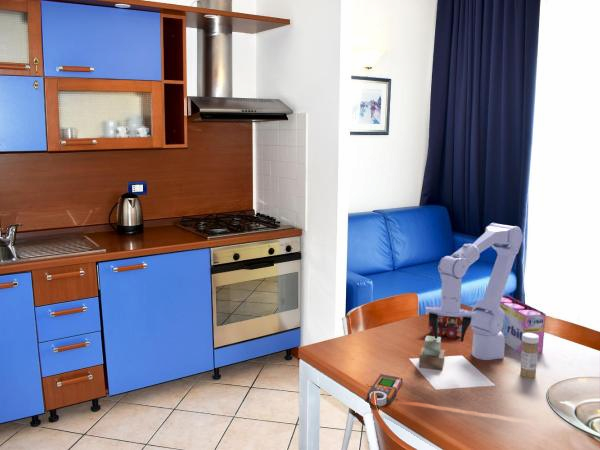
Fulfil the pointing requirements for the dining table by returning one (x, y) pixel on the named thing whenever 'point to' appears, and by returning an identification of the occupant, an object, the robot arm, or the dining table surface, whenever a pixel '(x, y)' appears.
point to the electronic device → (385, 389)
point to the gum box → (521, 322)
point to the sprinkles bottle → (529, 355)
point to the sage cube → (432, 346)
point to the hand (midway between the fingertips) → (449, 339)
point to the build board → (454, 374)
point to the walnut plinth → (431, 360)
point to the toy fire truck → (447, 326)
